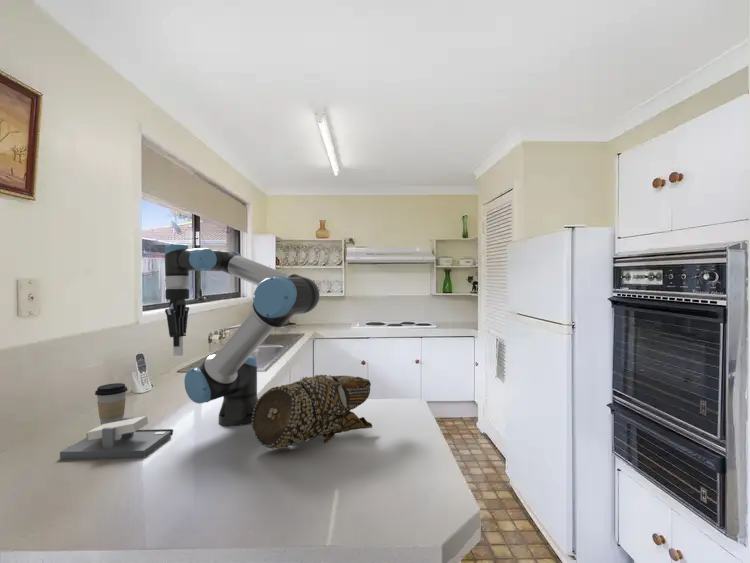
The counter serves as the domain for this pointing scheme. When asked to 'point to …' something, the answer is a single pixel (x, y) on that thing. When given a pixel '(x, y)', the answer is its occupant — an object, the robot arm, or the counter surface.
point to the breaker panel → (117, 445)
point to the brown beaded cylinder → (309, 410)
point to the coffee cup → (111, 402)
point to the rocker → (119, 427)
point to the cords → (156, 430)
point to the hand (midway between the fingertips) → (178, 355)
